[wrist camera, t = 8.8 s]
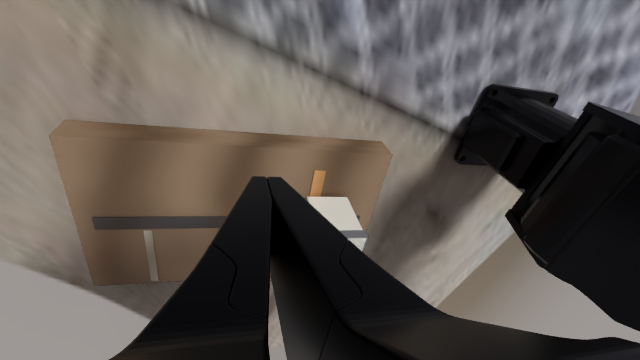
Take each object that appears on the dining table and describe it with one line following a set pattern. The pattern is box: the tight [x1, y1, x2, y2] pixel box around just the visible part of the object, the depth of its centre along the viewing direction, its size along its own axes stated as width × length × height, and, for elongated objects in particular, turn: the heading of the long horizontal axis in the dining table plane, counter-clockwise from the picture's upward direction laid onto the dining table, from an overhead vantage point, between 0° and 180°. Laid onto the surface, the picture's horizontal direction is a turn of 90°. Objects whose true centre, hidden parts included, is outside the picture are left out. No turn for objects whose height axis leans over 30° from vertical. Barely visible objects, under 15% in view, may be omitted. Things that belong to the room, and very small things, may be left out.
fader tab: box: [307, 197, 369, 252], centre depth 22 cm, size 3×5×4 cm, turn 169°
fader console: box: [49, 120, 392, 286], centre depth 23 cm, size 20×12×2 cm, turn 79°
